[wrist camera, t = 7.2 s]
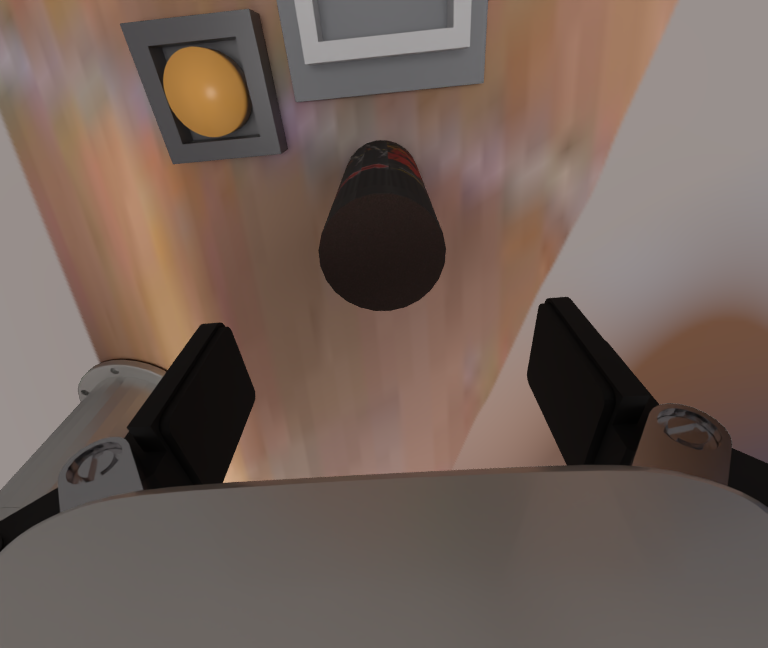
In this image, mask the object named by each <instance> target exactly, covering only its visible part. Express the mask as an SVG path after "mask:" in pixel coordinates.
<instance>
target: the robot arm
mask: <svg viewBox="0 0 768 648" xmlns="http://www.w3.org/2000/svg"><path fill="white" fill-rule="evenodd" d="M527 378H528V383H529V385H530V387H531V389H532V392H533V394H534V396H535V398H536V400H537V402H538V405H539V407H540V409H541V411H542V413H543V415H544V417H545V420H546V422H547V424H548V426H549V428H550V430H551V432H552V435H553V437H554V439H555V441H556V443H557V445H558V447H559V449H560V452H561V454H562V456H563V458H564V460H565V462H566V464H567V465H566V466H538V467H537V466H536V467H511V468H493V469H492V468H490V469H469V470H448V471H428V472H409V473H390V474H371V475H353V476H334V477H316V478H299V479H282V480H265V481H248V482H231V483H223V481H224V478H225V476H226V473H227V471H228V468H229V465H230V463H231V460H232V458H233V455H234V453H235V450H236V447H237V445H238V442H239V440H240V437H241V435H242V432H243V430H244V427H245V424H246V422H247V419H248V417H249V414H250V412H251V409H252V407H253V404H254V401H255V390H254V387H253V385H252V382H251V379H250V377H249V374H248V372H247V369H246V367H245V364H244V361H243V359H242V356H241V354H240V351H239V349H238V346H237V344H236V341H235V338H234V336H233V333H232V331H231V329H230V328H229V327H225V325H224V324H223V323H209V324H201V325H200V326H199V328H198V329H197V330H196V332H195V333H194V335H193V336H192V337H191V339H190V340H189V342H188V343H187V344H186V346H185V347H184V348H183V350H182V351H181V353H180V354H179V355H178V357H177V358H176V359H175V361H174V362H173V364H172V365H171V366H170V368H169V369H168V371H167V372H166V371H164V370H162V369H160V368H158V367H155V366H153V365H150V364H146V363H142V362H138V361H131V360H112V361H107V362H103V363H100V364H98V365H96V366H94V367H93V368H92V369H90V370H89V371H88V372H87V373H86V374H85V375H84V376H83V377H82V379H81V381H80V383H79V387H78V394H79V398H80V401H81V403H80V404H79V405H78V406H77V407H76V408H75V409H74V410H73V412H72V413H71V414H70V415H69V416H68V417H67V418H66V419H65V420H64V421H63V422H62V424H61V425H60V426H59V427H58V428H57V429H56V430H55V431H54V432H53V433H52V435H51V436H50V437H49V438H48V439H47V440H46V441H45V442H44V443H43V444H42V446H41V447H40V448H39V449H38V450H37V451H36V452H35V453H34V454H33V455H32V456H31V458H30V459H29V460H28V461H27V462H26V463H25V464H24V465H23V466H22V467H21V468H20V469H19V471H18V472H17V473H16V474H15V475H14V476H13V477H12V478H11V479H10V480H9V482H8V483H7V484H6V485H5V486H4V487H3V488H2V489H1V490H0V648H768V463H765V462H763V461H761V460H758V459H756V458H754V457H751V456H749V455H747V454H745V453H742V452H740V451H737V450H735V449H733V448H732V440H731V436H730V434H729V433H728V431H727V430H726V428H725V427H724V426H723V425H721V424H720V423H719V422H718V421H717V420H716V419H714V418H713V417H711V416H709V415H708V414H707V413H705V412H702V411H700V410H698V409H696V408H693V407H690V406H686V405H682V404H673V403H667V404H660V405H659V404H658V402H657V401H656V400H655V399H654V398H653V396H652V395H651V394H650V393H649V392H648V390H647V389H646V388H645V387H644V386H643V384H642V383H641V382H640V381H639V380H638V378H637V377H636V376H635V375H634V374H633V372H632V371H631V370H630V369H629V368H628V366H627V365H626V364H625V363H624V362H623V360H622V359H621V358H620V357H619V356H618V354H617V353H616V352H615V351H614V350H613V348H612V347H611V346H610V345H609V344H608V342H606V341H605V340H604V339H603V338H602V336H601V335H600V334H599V333H598V332H597V330H596V329H595V328H594V327H593V326H592V324H591V323H590V322H589V321H588V320H587V318H586V317H585V316H584V315H583V314H582V312H581V311H580V310H579V309H578V307H577V306H576V305H575V304H574V303H573V301H572V300H571V299H570V298H569V297H560V298H548V299H546V301H545V303H544V304H540V305H539V308H538V314H537V319H536V325H535V330H534V336H533V342H532V348H531V353H530V360H529V365H528V371H527Z"/></svg>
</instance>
